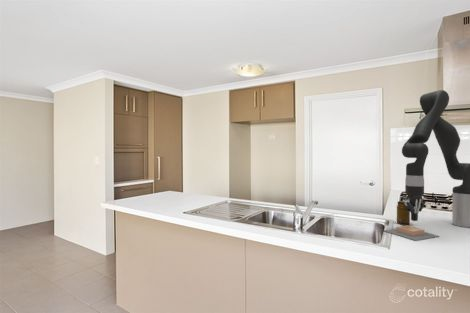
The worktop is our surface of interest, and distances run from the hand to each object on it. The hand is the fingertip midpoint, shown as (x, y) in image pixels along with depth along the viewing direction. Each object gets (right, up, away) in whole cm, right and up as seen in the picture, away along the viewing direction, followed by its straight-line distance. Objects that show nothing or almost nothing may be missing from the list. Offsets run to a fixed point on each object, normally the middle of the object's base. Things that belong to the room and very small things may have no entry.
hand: (414, 220), depth 128 cm
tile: (+1, -5, 0) cm, 5 cm away
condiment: (+6, -6, +17) cm, 20 cm away
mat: (-3, -6, -1) cm, 7 cm away
